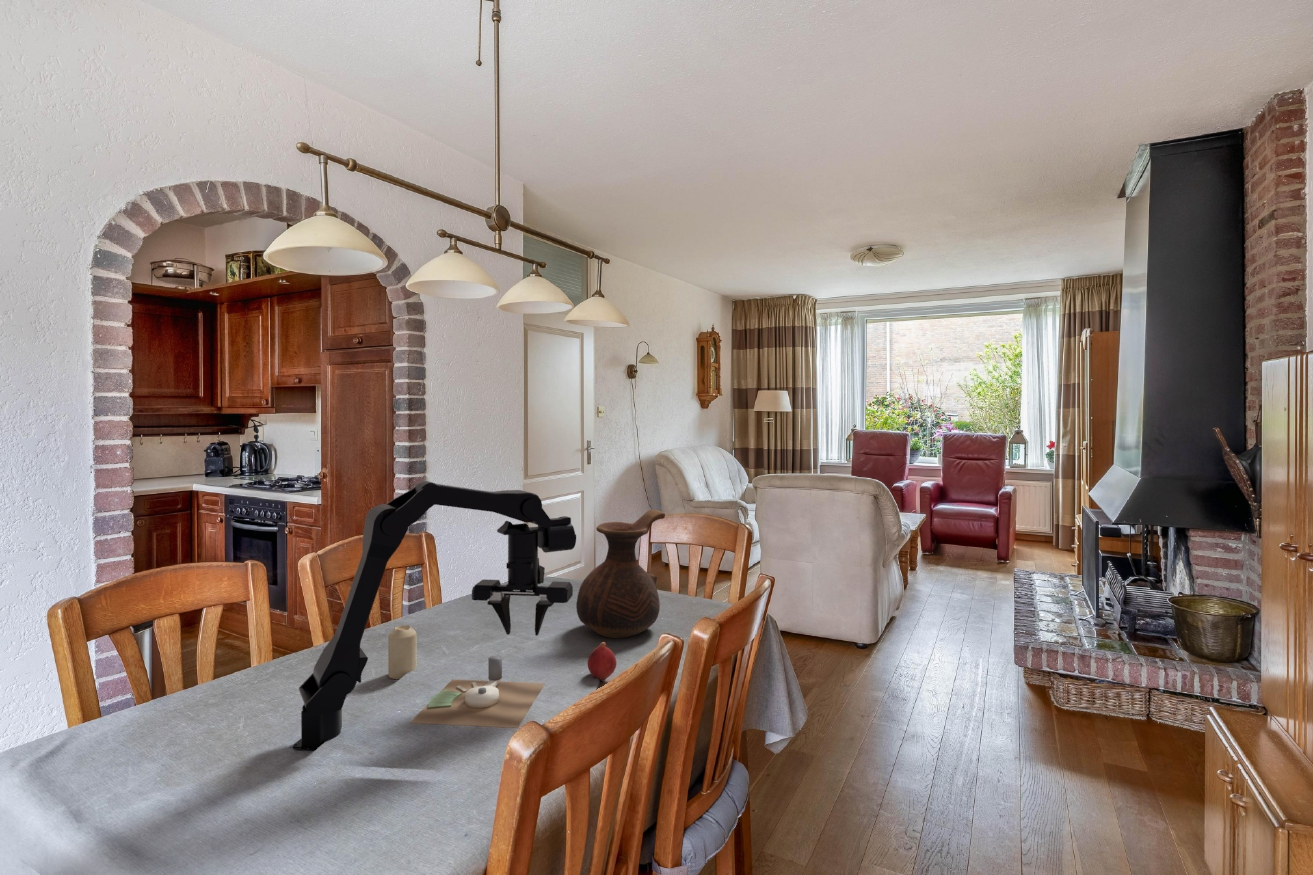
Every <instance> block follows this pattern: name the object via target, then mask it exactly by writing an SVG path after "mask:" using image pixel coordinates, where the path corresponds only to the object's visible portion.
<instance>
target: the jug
mask: <svg viewBox="0 0 1313 875" xmlns="http://www.w3.org/2000/svg"><path fill="white" fill-rule="evenodd" d="M665 517H666V513H664V512H663V511H661V510H658V509H649V510H647V511H646V512H645V513H643V515H641V516H640V517H639V518H638V519H637V520H635V521H634V522H632V523H629V522H622V521H609V522H603V523H601V524H599V525H597V526H596V531H597V532H598V533H600V534H603V535H604V536H605V539H606V540H607V546H608V547H607V548H608V549H607V553H606V556H605V560H604V561H603V562H602V563H600V564H598V565H597V566H596V567H595V568H593V569H592V570H591V571H590V572H589V574H587V576H586V577H585V578H584V579H583V580H582V582H581V584H580V586H579V589H578V592H577V598H576V614H577V616H578V619H579V621H580V622H581V623H582V624H583V625H585V626H586V627H587V628H590V630H592V631H594V632H595V633H596V634H598V635H601V636H602V637H605V638H611V639H620V638H621V639H622V638H629V637H633V636H636V635H639V634H641V633H642V632H643V633H644V631H646V630H647V629H649V628H650V627H651V626H653V624H655V622H656V621H657V619H658V618H659V615H660V611H661V610H660V607H661V606H660V605H661V603H660V597H659V593H658V589H657V580H658V577H657V576H656V575H655V574H653V573H651V572H650V571H646V570H645V569H644V568H643V567H642V566H641V565H640V564H639V561H638V560H637V557H636V545H637V542H638V540H639V539H640V538H641V537H643V536H644V535H648V533H649V531H650V528H652V525H653V523H654V522H656V521H658V520H664V519H665Z"/></svg>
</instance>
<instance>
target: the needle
mask: <svg viewBox="0 0 1313 875" xmlns="http://www.w3.org/2000/svg"><path fill="white" fill-rule="evenodd" d="M487 663H488V670H487V671H488V674H487V675H488V680H487V681H488V682H487V683H486V685H485V686H479V687H474V688H471V689H469V690H468V691H467V692H466V693H465V703H466V705H467V706H469V707H473V708H484V707H489V706H492V705H494V704H496V703H497V702H498V701H499V690H498V689H497V688H496V686H497V684H498V683H499V682H502V679H503V656H502V655H497V654H496V655H491V656H489V657H488V662H487Z"/></svg>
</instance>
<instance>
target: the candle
mask: <svg viewBox="0 0 1313 875" xmlns="http://www.w3.org/2000/svg"><path fill="white" fill-rule="evenodd" d="M387 642H388V643H387V644H388V645H387V647H388V648H387V649H388V650H387V651H388V654H387V656H388V657H387V660H388V663H387V664H388V668H387V670H388V671H387V672H388V678H390V679H393V680H400V679H402V678H403V677H404V676H406V675H407V674H408V673H411V672H414V671H415V670H416V669H417V631H415V630H414V628H413V627H412V626H410V625H408V624H407V625H405V624H404V625H403V624H402V625H400V626H394V628H393V629H392V630H391V632H390V633H389V634H388V635H387Z"/></svg>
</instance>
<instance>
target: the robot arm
mask: <svg viewBox="0 0 1313 875" xmlns="http://www.w3.org/2000/svg"><path fill="white" fill-rule="evenodd" d="M435 505H436V506H444V507H452V508H461V509H465V510H466V509H468V510H473V511H474V510H475V511H481V512H483V511H484V512H491V513H495V514H499V515H502V516H505V517H507V518H511V519H514V520H517V521H520V522H523V523H512V522H511V521H508V520H505V521H504V523H503V524H502V525H501V526H500V527H499V528H497V529H496V532H497V533H498V534H501V535H504V536H507V562H506V569H507V583H506V584H501V581H500V579H484V578H483V579H481V580H480V581H479V582H477V583H476V584H474V586H473V587H472V589H471V600H472V601H485V602H486V601H487V602H486V603H487V605H488V606H491V607H492V608H493V610H494V611H495V613H496V614H497V616H498V617H499V620H500V622H501V625H502V627H503V630H504V632H505V633H506V635H508V636H509V635H510V634H511V630H512V629H511V628H512V625H511V624H512V623H511V622H512V621H511V609H510V603H511V602H510V601H511V596H519V597H521V596H522V597H524V596H526V597H538V599H539V600H538V601H537V602H536V604H535V616H534V618H535V619H534V635H535V636H538V635H539V634H540V631H541V628H542V625H543V622H544V619H545V615H546V613H547V611H548V609H549V608H551V607H552V606H553V605H554V604H566V603H568V602H569V601H570V600H571V598H572V597H573V591H574V590H573V588H574V587H573V585H572V583H571V582H570V581H552V582H551V583H550V584H549V585H547V586H542V585H541V586H539V585H540V584H544V582H545V570H546V569H545V567H544V566H542V565H541V564H540V558H539V549H541V550H542V552H543V553H546V554H547V553H553V552H554V553H555V552H562V551H571V550H573V549H575V546H576V542H577V534H576V531H575V527H574V525H573V524H572V518H571V516H559V517H556V518H555V517H554V518H551V517H550V516H549V515H548V514H547V512H546V511H545V509H544V508H543V503H542V500H541V498H540V497H539V495H537V493H533V492H530V491H526V490H521V489H511V490H510V489H507V490H506V489H505V490H496V491H490V490H489V491H488V490H481V489H475V488H467V487H460V486H453V485H448V484H447V485H446V484H442V483H441V484H439V483H435V482H432V481H430V480H429V481H428V480H427V481H425V480H424V481H421V482H419V483H418V484H416V485H415V486H414V487H413V488H411V489H409V490H408V491H406V492H404V493H402V494H400V495H398V496H397V497H394V498H393V499H392V500H390V501H389V502H387V503H386V504H385V503H384V504H383V503H382V504H378V505H375V506H373V507H372V508H370V509H369V511H368V512H367V514H366V516H365V521H364V527H363V532H362V533H363V534H362V553H361V557H360V560H359V562H358V566H357V568H356V569H357V570H356V572H355V575H354V578H353V581H352V583H351V586H350V590H349V592H348V595H347V598H346V601H345V604H344V606H343V610H342V613H341V616H340V619H339V622H338V625H337V628H336V631H335V633H334V635H333V636H332V637H331V639H330V640H329V642H328V643H327V644H326V646H325V647H324V648H323V649H322V652H321V654H320V656H319V657H318V659H317V661H316V663H315V664H314V667H313V671H312V673H311V674H310V675H309V677H307V678H306V679H305V681H304V682H303V683H301V684H300V686H299V687H298V691H299V693H300V696H301V698H302V701H303V705H302V708H301V709H302V710H301V712H300V715H301V717H300V718H301V719H300V722H301V723H300V724H301V726H300V728H301V729H300V730H301V737H300V739H298V740H297V741H296V742H294V743H293V744H292V746H291V747H292V750H303V751H304V750H307V751H316V750H318V749H319V748H320V747H321V746H322V745H324V744H325V743H326V742H328V741H331V740H332V739H335V738H337V737H338V736H339V735H340V734H341V733H342V732H341V731H342V726H343V724H342V723H343V719H342V718H343V716H342V715H343V714H342V713H343V706H344V703H345V700H346V698H347V695H350V694H351V693H352V692H353V691H354V689H355V687H356V685H357V683H358V684H361V683H362V674H363V672H364V669H365V667H366V665H367V663H368V660H369V658H368V656H367V655H366V653H365V651H364V650H363V649H362V647H361V642H362V639H363V637H364V633H365V629H366V627H367V624H368V621H369V618H370V615H371V612H372V610H373V606H374V604H375V600H376V597H377V595H378V592H379V587H380V585H381V582H382V579H383V576H384V573H385V571H386V567H387V564H388V562H389V560H390V559H391V558H392V556H393V555H394V554H395V553H396V552H397V550H398V549H399V547H400V546H401V544H402V541H403V539H404V538H405V536H406V534H407V532H408V530H409V527H410V526H411V525H413V524H415V523H416V522H417V521H418V520H420V519H421V517H423V516H424V515H425V513H427V511H428V510H429V509H431V508H432V507H433V506H435ZM527 523H531V524H534V525H536V526H529V524H527Z"/></svg>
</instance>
